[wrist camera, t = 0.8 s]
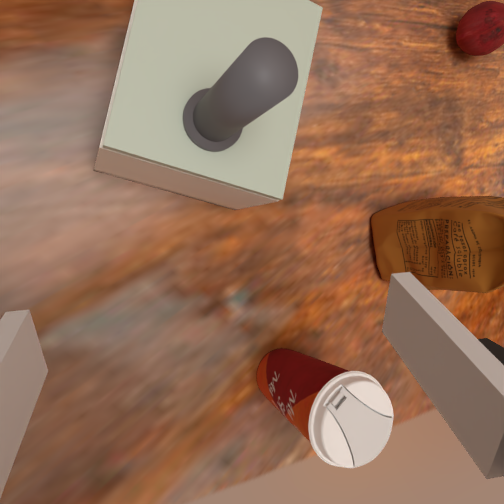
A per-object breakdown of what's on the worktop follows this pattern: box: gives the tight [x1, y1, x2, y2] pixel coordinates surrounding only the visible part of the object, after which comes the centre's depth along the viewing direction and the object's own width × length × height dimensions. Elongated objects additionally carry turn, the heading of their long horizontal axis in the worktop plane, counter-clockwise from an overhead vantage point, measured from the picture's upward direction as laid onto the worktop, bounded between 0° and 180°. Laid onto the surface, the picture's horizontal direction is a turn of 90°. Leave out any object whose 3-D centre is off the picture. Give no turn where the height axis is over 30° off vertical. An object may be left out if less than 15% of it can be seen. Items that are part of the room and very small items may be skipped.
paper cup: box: [257, 348, 393, 468], centre depth 39 cm, size 8×8×14 cm
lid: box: [103, 0, 322, 200], centre depth 27 cm, size 14×16×11 cm
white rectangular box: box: [94, 0, 279, 210], centre depth 37 cm, size 14×16×10 cm
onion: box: [456, 1, 504, 56], centre depth 51 cm, size 6×6×8 cm
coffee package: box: [371, 196, 504, 293], centre depth 42 cm, size 10×12×22 cm
